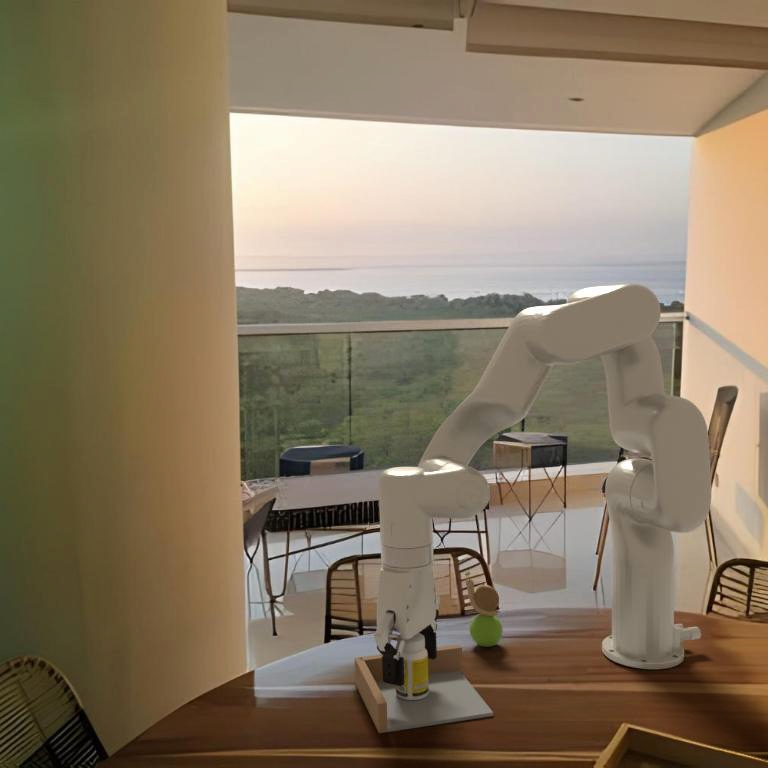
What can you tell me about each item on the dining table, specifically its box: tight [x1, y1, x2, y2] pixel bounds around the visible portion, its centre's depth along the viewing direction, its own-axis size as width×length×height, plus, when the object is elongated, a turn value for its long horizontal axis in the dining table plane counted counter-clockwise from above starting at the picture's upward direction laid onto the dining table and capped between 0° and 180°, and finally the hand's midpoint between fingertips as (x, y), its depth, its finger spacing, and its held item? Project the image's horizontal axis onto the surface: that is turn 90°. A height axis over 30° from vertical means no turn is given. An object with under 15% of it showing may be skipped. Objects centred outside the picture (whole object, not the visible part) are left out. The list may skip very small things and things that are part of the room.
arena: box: [354, 644, 494, 734], centre depth 114 cm, size 17×15×4 cm
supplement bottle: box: [396, 633, 429, 700], centre depth 114 cm, size 5×5×8 cm
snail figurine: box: [464, 571, 504, 648], centre depth 132 cm, size 5×6×12 cm
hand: (410, 669), depth 114 cm, fingers open, 9 cm apart
